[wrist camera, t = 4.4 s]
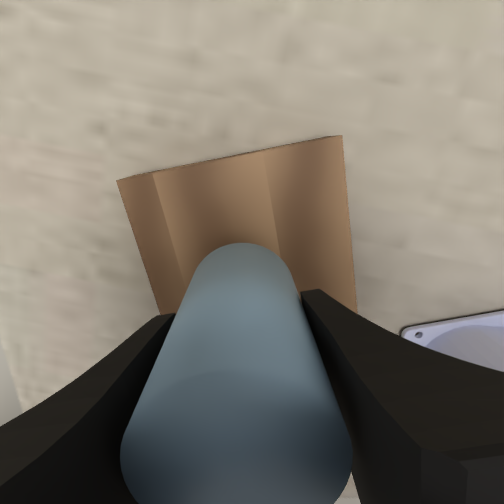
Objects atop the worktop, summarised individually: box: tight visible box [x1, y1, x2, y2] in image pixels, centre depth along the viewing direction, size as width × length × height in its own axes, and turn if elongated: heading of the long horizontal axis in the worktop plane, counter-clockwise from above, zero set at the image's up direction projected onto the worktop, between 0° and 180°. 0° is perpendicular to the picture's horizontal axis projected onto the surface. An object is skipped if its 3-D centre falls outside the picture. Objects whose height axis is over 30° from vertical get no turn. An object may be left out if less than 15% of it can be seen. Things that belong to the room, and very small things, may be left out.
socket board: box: [116, 135, 357, 315], centre depth 19 cm, size 11×16×2 cm
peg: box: [120, 243, 353, 504], centre depth 9 cm, size 4×4×7 cm
